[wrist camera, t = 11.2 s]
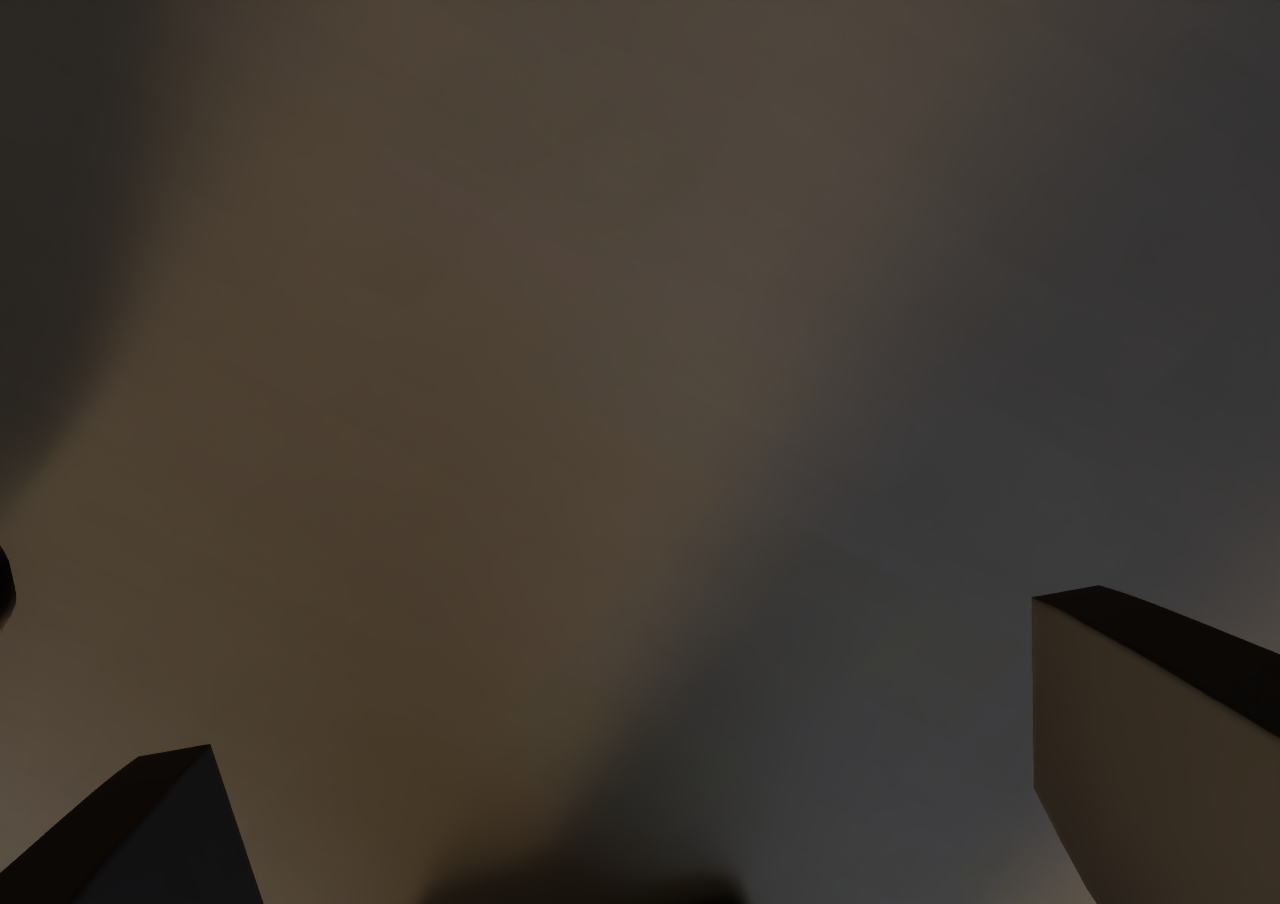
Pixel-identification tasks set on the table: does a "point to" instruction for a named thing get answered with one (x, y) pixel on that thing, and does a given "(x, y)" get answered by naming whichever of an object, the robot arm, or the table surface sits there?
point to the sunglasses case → (6, 590)
